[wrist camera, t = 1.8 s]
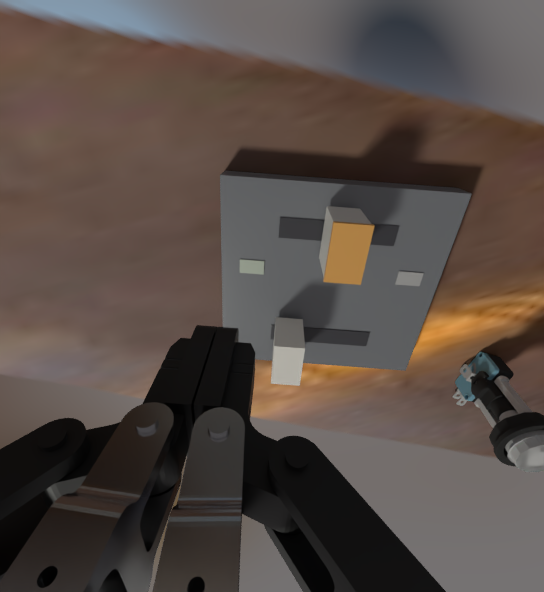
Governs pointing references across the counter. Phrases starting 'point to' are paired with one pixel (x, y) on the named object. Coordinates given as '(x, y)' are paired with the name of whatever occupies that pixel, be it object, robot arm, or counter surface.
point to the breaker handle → (345, 245)
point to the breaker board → (309, 277)
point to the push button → (503, 412)
